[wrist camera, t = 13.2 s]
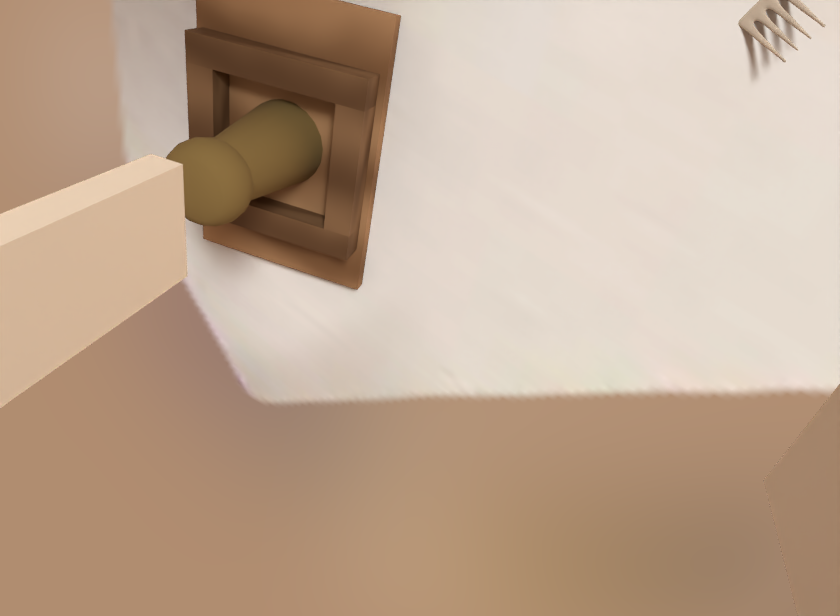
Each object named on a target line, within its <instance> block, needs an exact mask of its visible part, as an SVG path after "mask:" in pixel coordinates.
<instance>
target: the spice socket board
mask: <svg viewBox="0 0 840 616" xmlns="http://www.w3.org/2000/svg"><path fill="white" fill-rule="evenodd" d="M196 14H197V28H195V29H188V30H185V48H186V72H187V96H188V120H189V139H192V138H194V137H215V136H216V135H218V134H219V133H221V132H222V131H223V130H225V129H226V128H228V127H229V126H230V125H232V124H233V123H235V122H236V121H237V120H239V119H240V118H242V117H243V116H244V115H246V114H247V113H249V112H250V111H251V110H253V109H254V108H255V107H257V106H258V105H260V104H261V103H264V102H266V101H269V100H271V99H284V100H286V101H289V102H292V103H295V104H296V105H298V106H299V107H300V108H302V109H303V110H304V111H306V112H307V113H308V115H309V116H310V117H311V118H312V120H313V121H314V122H315V124H316V126H317V128H318V131H319V133H320V135H321V140H322V147H323V152H322V159H321V163H320V165H319V167H318V169H317V171H316V173H314V174H313V175H312V176H311V177H310V178H309V179H307V180H305V181H302V182H299V183H297V184H294V185H291V186H288V187H286V188H283V189H280V190H278V191H275V192H272V193H269V194H267V195H264V196H261V197H259V198H256V199H253V200H251V201H250V203H249V206H248V207H247V209H246V210H245V212H244V213H242V214H241V215H240V216H239V217H238V218H237V219H235V220H234V221H232V222H230V223H227V224H224V225H220V226H204V225H203V239H206V240H209V241H212V242H215V243H218V244H221V245H224V246H227V247H230V248H233V249H236V250H239V251H242V252H245V253H248V254H251V255H254V256H257V257H260V258H263V259H266V260H269V261H272V262H275V263H278V264H281V265H284V266H287V267H290V268H293V269H296V270H299V271H302V272H305V273H308V274H311V275H314V276H318V277H321V278H324V279H327V280H330V281H333V282H336V283H339V284H342V285H345V286H348V287H351V288H354V289H358V288H359V287H360V286H361V284H362V279H363V273H364V266H365V259H366V252H367V245H368V238H369V232H370V225H371V218H372V211H373V204H374V197H375V190H376V184H377V177H378V170H379V163H380V156H381V149H382V142H383V136H384V129H385V122H386V115H387V108H388V101H389V94H390V88H391V81H392V74H393V67H394V60H395V53H396V47H397V40H398V33H399V26H400V19H401V16H400V15H396V14H392V13H388V12H384V11H380V10H376V9H372V8H368V7H364V6H360V5H356V4H352V3H348V2H344V1H340V0H196Z"/></svg>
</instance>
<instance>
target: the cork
mask: <svg viewBox="0 0 840 616" xmlns="http://www.w3.org/2000/svg"><path fill="white" fill-rule="evenodd" d="M322 152H323V147H322V140H321V135H320V133H319V131H318V128H317V126H316V124H315V122H314V121H313V120H312V118H311V117H310V116H309V115H308V113H307V112H306V111H304V110H303V109H302V108H300V107H299V106H298V105H296V104H295V103H292V102H289V101H286V100H284V99H271V100H269V101H266V102H264V103H261V104H260V105H258V106H257V107H255V108H254V109H253V110H251V111H250V112H249V113H247V114H246V115H244V116H243V117H242V118H240V119H239V120H237V121H236V122H235V123H233V124H232V125H230V126H229V127H228V128H226V129H225V130H223V131H222V132H221V133H219V134H218V135H216V136H215V137H194V138H192V139H189V140H187V141H184V142H182V143H179V144H178V145H177V146H176V147H175V148H174V149H173V150H172V151H171V152H170V153H169V154H168V156H167V157H166V159H168V160H171V161H174V162H177V163H180V164H183V182H184V206H185V218H187V219H188V220H189V221H192V222H195V223H197V224H200V225H204V226H220V225H224V224H227V223H230V222H232V221H234V220H235V219H237V218H238V217H239V216H240V215H241V214H242V213H244V212H245V210H246V209H247V207H248V206H249V203H250V201H251V200H253V199H256V198H259V197H261V196H264V195H267V194H269V193H272V192H275V191H278V190H280V189H283V188H286V187H288V186H291V185H294V184H297V183H299V182H302V181H305V180H307V179H309V178H310V177H311V176H312V175H313V174H314V173H316V171H317V169H318V167H319V165H320V163H321V159H322Z"/></svg>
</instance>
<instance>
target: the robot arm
mask: <svg viewBox="0 0 840 616" xmlns="http://www.w3.org/2000/svg"><path fill="white" fill-rule="evenodd" d="M186 277H187V255H186V230H185V206H184V182H183V164H180V163H177V162H174V161H171V160H168V159H165V158H162V157H159V156H156V155H152V154H150V155H147V156H145V157H142V158H140V159H137V160H135V161H132V162H129V163H127V164H124V165H122V166H119V167H117V168H115V169H112V170H109V171H107V172H104V173H102V174H99V175H97V176H94V177H92V178H90V179H87V180H84V181H82V182H79V183H77V184H74V185H72V186H69V187H67V188H65V189H62V190H59V191H57V192H54V193H52V194H49V195H47V196H44V197H42V198H39V199H36V200H34V201H31V202H29V203H26V204H24V205H21V206H19V207H16V208H14V209H11V210H9V211H6V212H4V213H2V214H0V408H1V407H2V406H4V405H5V404H7V403H8V402H10V401H11V400H12V399H14V398H15V397H17V396H18V395H20V394H21V393H22V392H24V391H25V390H27V389H28V388H30V387H31V386H32V385H34V384H35V383H37V382H38V381H39V380H41V379H42V378H44V377H45V376H46V375H48V374H49V373H51V372H52V371H53V370H55V369H56V368H58V367H59V366H60V365H62V364H64V363H65V362H66V361H68V360H69V359H71V358H72V357H73V356H75V355H76V354H78V353H79V352H80V351H82V350H83V349H85V348H86V347H88V346H89V345H90V344H92V343H93V342H95V341H96V340H97V339H99V338H100V337H102V336H103V335H105V334H106V333H107V332H109V331H110V330H112V329H113V328H114V327H116V326H117V325H119V324H120V323H122V322H123V321H125V320H126V319H127V318H129V317H130V316H132V315H133V314H134V313H136V312H137V311H139V310H140V309H142V308H143V307H144V306H146V305H147V304H149V303H150V302H152V301H153V300H154V299H156V298H157V297H159V296H160V295H161V294H163V293H164V292H166V291H167V290H168V289H170V288H171V287H173V286H174V285H176V284H177V283H178V282H180V281H181V280H183V279H184V278H186ZM763 481H764V485H765V489H766V493H767V496H768V501H769V505H770V508H771V512H772V516H773V521H774V525H775V528H776V532H777V536H778V540H779V544H780V548H781V552H782V556H783V560H784V564H785V568H786V572H787V576H788V580H789V584H790V588H791V592H792V596H793V600H794V604H795V608H796V612H797V616H840V384H839V385H838V387H837V388H836V389H835V391H834V392H833V393H832V394H831V396H830V397H829V398H828V400H827V401H826V402H825V403H824V404H823V406H822V407H821V408H820V410H819V411H818V412H817V413H816V415H815V416H814V417H813V418H812V420H811V421H810V422H809V423H808V425H807V426H806V427H805V428H804V430H803V431H802V432H801V434H800V435H799V436H798V437H797V439H796V440H795V441H794V442H793V444H792V445H791V446H790V447H789V449H788V450H787V451H786V453H785V454H784V455H783V456H782V458H781V459H780V460H779V461H778V463H777V464H776V465H775V466H774V468H773V469H772V470H771V471H770V473H769V474H768V475H767V477H766V478H765V479H764V480H763Z"/></svg>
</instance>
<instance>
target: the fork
mask: <svg viewBox="0 0 840 616" xmlns="http://www.w3.org/2000/svg"><path fill="white" fill-rule="evenodd" d="M788 1H789V2H791V3H792V4H793V5H795V6H796V7H797V8H799V9H800V10H801V11H803V12H804V13H805V14H807V15H808V16H809V17H811V18H812V19H813V20H815V21H816V22H818V23H819V24H820V25H821V26H822V27H825V24H823V23H822V22H821V21H820V20H819V19H818V18H817V17H816V16H815V15H814V14H813V13H812V12H811V11H810V10H809V9H808V8H807V7H806V6H805V5H804V4H803V3H802V2H801V1H800V0H788ZM767 9H770V10H772V11H774V12H775V13H777V14H778V15H779V16H781V17H782V18H783V19H785V20H786V21H787V22H788V23H790V24H791V25H792V26H794V27H795V28H796V29H798V30H799V31H800V32H802V33H803V34H804V35H806V36H807V37H808V38H810V39H811V37H810V36H809V35H808V34H807V32H806V31H805V30H804V29H803V28H802V27H801V26H800V25H799V24H798V23H797V22H796V21H795V20H794V19H793V18H792V17H791V16H790V15H789V14H788V13H787V12H786V11H785V10H784V8H783V7H782V6H781V5H780V4H779V2H778V0H759V1H758V2H757V3H756V4H755V5H754V6H753V7H752V8H751V9H750V10H749V11H748V12H747V13H746V14H745V15H744V16H743V17H742V18H741V19H740V21H739V23H738V24H739V26H740V27H741V28H743V29H744V30H745V31H746V32H748V33H749V34H750V35H751V36H753V37H754V38H755V39H756V40H757V41H759V42H760V43H761V44H762V45H764V46H765V47H766V48H767V49H769V50H770V51H771V52H772V53H774V54H775V55H776V56H777V57H779V58H780V59H781V60H782V61H783V62H786V60H785V59H784V58H783V57H782V56H781V55H780V54H779V53H778V52H777V51H776V50H775V49H774V48H773V46H772V45H771V44H770V43H769V42H768V41H767V40H766V39H765V38H764V37H763V36H762V35H761V34H760V32H759V31H758V30H757V29H756V28H755V26H754V24H753V23H754V21H759V22H761V23H762V24H764V25H765V26H766V27H767V28H769V29H770V30H771V31H772V32H774V33H775V34H776V35H778V36H779V37H780V38H781V39H783V40H784V41H785V42H787V43H788V44H789V45H791V46H792V47H793V48H795V49H796V50H798V49H797V47H796V46H795V45H794V44H793V43H792V42H791V41H790V40H789V39H788V38H787V37H786V36H785V35H784V33H783V32H782V31H781V30H780V29H779V28H778V27H777V26H776V25H775V24H774V23H773V22H772V21H771V20H770V19H769V17H768V16H767V15H766V10H767Z"/></svg>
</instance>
